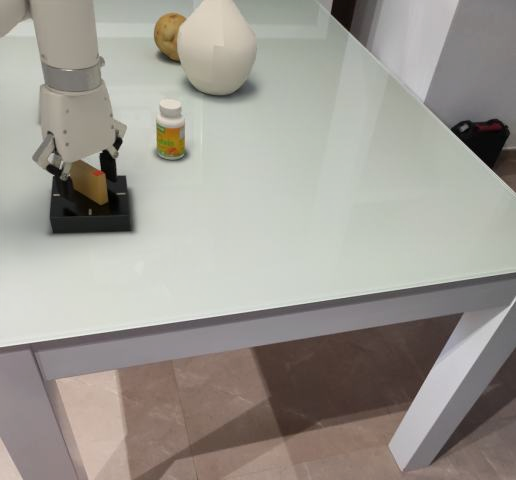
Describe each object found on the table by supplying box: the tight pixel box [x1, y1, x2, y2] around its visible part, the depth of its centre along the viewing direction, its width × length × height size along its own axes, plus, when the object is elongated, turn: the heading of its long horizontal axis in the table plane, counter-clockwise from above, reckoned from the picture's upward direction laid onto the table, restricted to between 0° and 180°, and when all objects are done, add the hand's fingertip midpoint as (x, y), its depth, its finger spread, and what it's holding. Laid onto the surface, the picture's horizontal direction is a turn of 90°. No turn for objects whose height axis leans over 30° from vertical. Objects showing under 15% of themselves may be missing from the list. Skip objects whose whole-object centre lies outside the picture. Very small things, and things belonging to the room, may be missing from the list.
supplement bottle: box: [155, 98, 186, 161], centre depth 97 cm, size 5×5×10 cm
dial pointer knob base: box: [49, 174, 132, 234], centre depth 84 cm, size 12×12×3 cm
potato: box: [153, 12, 187, 62], centre depth 130 cm, size 10×12×10 cm
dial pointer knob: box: [69, 159, 108, 205], centre depth 81 cm, size 7×2×5 cm, turn 52°
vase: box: [177, 0, 258, 96], centre depth 113 cm, size 18×18×30 cm
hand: (89, 187), depth 82 cm, fingers open, 7 cm apart
